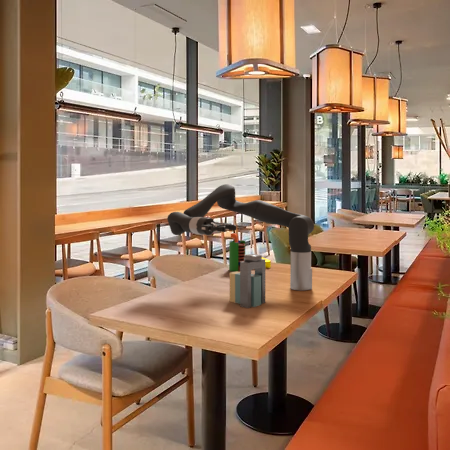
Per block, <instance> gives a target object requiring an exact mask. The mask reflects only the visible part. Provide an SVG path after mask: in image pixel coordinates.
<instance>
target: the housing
mask: <svg viewBox="0 0 450 450" xmlns="http://www.w3.org/2000/svg"><path fill="white" fill-rule="evenodd" d="M262 257H263V256H262V254H258V253H257V254H255V253H250V254H248V253H247V254H245V255H244V261H242V262H240V271H239V272H240V308H246V309H249V308H252V306H251V274H252V271H253V270H254V274H255V275H261V305H263V304H266V268H265V259H266V258H265V259H262Z"/></svg>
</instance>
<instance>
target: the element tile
mask: <svg viewBox="0 0 450 450" xmlns="http://www.w3.org/2000/svg"><path fill="white" fill-rule="evenodd" d="M262 259H265V269H271V267H272V260H270V259H267V258H266V257H263V256H262Z"/></svg>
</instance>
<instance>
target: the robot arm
mask: <svg viewBox="0 0 450 450" xmlns="http://www.w3.org/2000/svg"><path fill="white" fill-rule="evenodd" d="M216 203H217V206H218V207H219V208H220V209H223V210H226V211H230V212H234V213H238V214H241V215H243V216H244V215H245V216H247V217H250V218H252V219H254V220H257V221H259V222H262V223H266V224H269V225H276V226H282V227H286V228H288V243H289V244H288V245H289V248H290V268H289V269H290V273H289V274H290V275H289V276H290V283H289V284H290V285H289V288H290V289H291V290H295V291H308V290H313V268H312V246H311V244H310V243H309V235H310V234H311V233H312V232H313V231H314V230H315V222H314V221H313V219H312V218H311V217H309V216H308V215H304V214H300V213H295V212H292V211H288V210H287V209H284V208H281V207H279V206H276V205H274V204H272V203H269V202H268V201H267V202H266V201H264V200H261V199H259V200H258V199H256V200H251V201H249V202H241V201H238V200H237V199H236V188H235V186H233V185H232V184H228V183H227V184H222V185H219V186H217V187H216V188H215V189H214V190H212V191H211V192H210V193H209V194H208V195H206V196H204V198H203V199H202V200H200V201H199V202H198V203H195V204H193V205H192V206H190V207H188V208H186V209H184V211H183V213H182V211H181V212H180V211H173V212H171V213H169V214H168V215H167V217H166V218H167V222H168V226H169V229H170V231H171V234H173V235H174V236H180V235H183V234H184V233H185V232H186V233H191V234H196V235H201V236H202V235H204V236H211V235H212V234H213V233H218V232H220V233H221V232H222V233H225V232H226V231H237V225H236V224H232V223H228V222H219V221H215V220H214V219H213V218H212V217H205V216H206V215H207V214H208V213H209V211H210V210H211V209H212V208H213V206H214V205H215V204H216Z"/></svg>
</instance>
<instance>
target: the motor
mask: <svg viewBox="0 0 450 450" xmlns="http://www.w3.org/2000/svg"><path fill="white" fill-rule="evenodd" d="M230 238H234V240H230V241H229V247H228V250H229V252H228V253H229V255H228V258H229V259H228V260H229V261H228V270H229V271H230V272H236V271H238V272H240V262H242V261H244V255H246V240H243V239H242V240H239V238H238V234H237V233H230Z"/></svg>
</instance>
